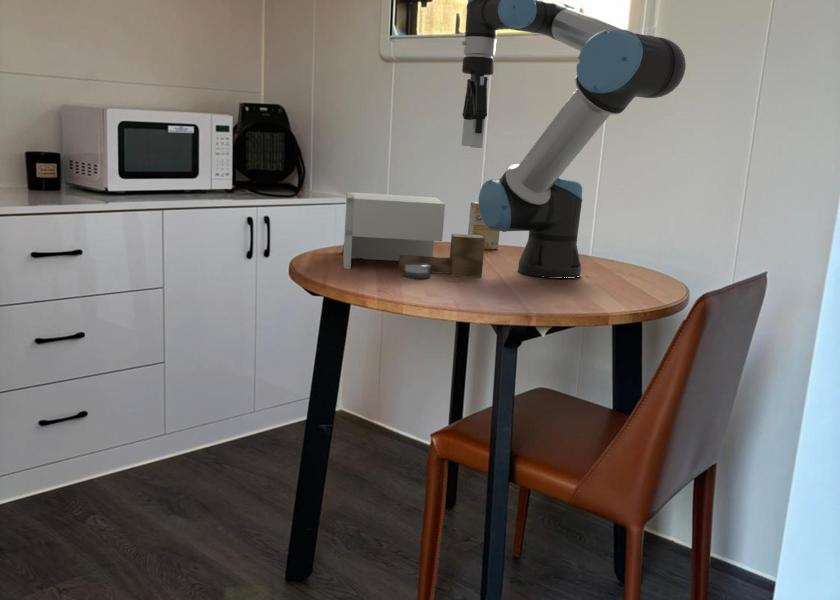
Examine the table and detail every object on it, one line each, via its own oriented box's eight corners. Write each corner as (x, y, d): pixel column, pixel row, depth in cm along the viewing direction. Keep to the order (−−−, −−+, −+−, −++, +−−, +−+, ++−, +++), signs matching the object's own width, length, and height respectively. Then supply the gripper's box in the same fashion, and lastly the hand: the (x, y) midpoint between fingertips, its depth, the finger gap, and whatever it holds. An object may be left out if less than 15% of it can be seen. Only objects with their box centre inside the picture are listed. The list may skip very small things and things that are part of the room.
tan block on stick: (477, 273, 188) (481, 235, 186) (481, 277, 183) (485, 238, 181) (397, 269, 186) (400, 230, 184) (399, 272, 181) (401, 233, 179)
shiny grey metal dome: (427, 275, 181) (428, 262, 180) (431, 280, 175) (432, 267, 174) (401, 274, 180) (402, 261, 179) (404, 279, 174) (405, 266, 174)
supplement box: (470, 249, 225) (474, 202, 222) (466, 246, 230) (470, 201, 227) (498, 250, 227) (502, 204, 224) (493, 247, 231) (497, 202, 229)
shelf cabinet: (431, 261, 199) (436, 197, 195) (439, 273, 183) (445, 204, 180) (343, 257, 196) (346, 191, 193) (343, 268, 181) (347, 198, 177)
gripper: (455, 59, 203) (449, 144, 207) (472, 51, 179) (464, 147, 183) (484, 62, 204) (477, 146, 208) (505, 54, 179) (496, 149, 184)
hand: (471, 147), depth 196 cm, fingers open, 13 cm apart
